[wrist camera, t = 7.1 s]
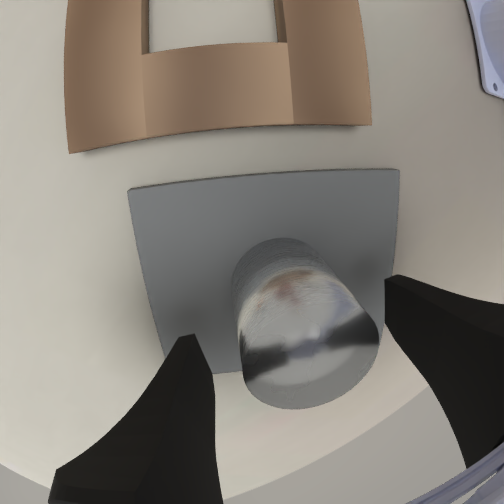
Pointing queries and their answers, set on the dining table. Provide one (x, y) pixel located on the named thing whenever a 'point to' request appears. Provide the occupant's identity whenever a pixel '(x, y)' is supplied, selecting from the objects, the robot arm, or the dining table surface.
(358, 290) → the rubber mat
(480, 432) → the robot arm
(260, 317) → the end cover
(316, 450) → the dining table surface
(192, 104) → the bore plate
